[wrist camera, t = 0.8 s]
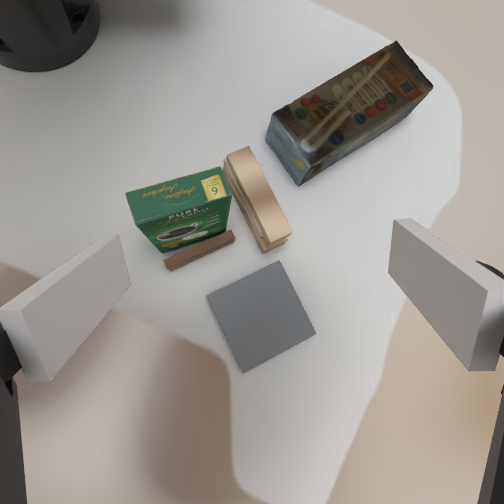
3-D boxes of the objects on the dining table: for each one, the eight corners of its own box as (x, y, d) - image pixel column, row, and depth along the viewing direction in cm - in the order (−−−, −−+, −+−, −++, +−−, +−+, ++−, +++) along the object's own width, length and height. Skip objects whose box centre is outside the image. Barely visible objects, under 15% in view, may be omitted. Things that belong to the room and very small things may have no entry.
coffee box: (220, 211, 37) (221, 162, 25) (228, 233, 37) (233, 195, 24) (154, 231, 36) (119, 191, 23) (161, 254, 36) (130, 227, 23)
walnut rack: (148, 223, 36) (143, 217, 34) (211, 196, 38) (211, 188, 35) (170, 270, 36) (167, 268, 33) (233, 241, 37) (235, 237, 35)
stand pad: (207, 296, 36) (206, 295, 34) (276, 262, 37) (279, 260, 35) (241, 369, 35) (242, 373, 33) (311, 332, 36) (316, 333, 34)
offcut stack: (222, 172, 38) (223, 151, 33) (244, 163, 39) (248, 141, 33) (262, 253, 37) (270, 244, 32) (284, 242, 38) (295, 232, 32)
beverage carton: (261, 139, 40) (269, 106, 33) (373, 73, 43) (400, 32, 37) (297, 189, 39) (312, 166, 33) (407, 118, 43) (441, 84, 36)
